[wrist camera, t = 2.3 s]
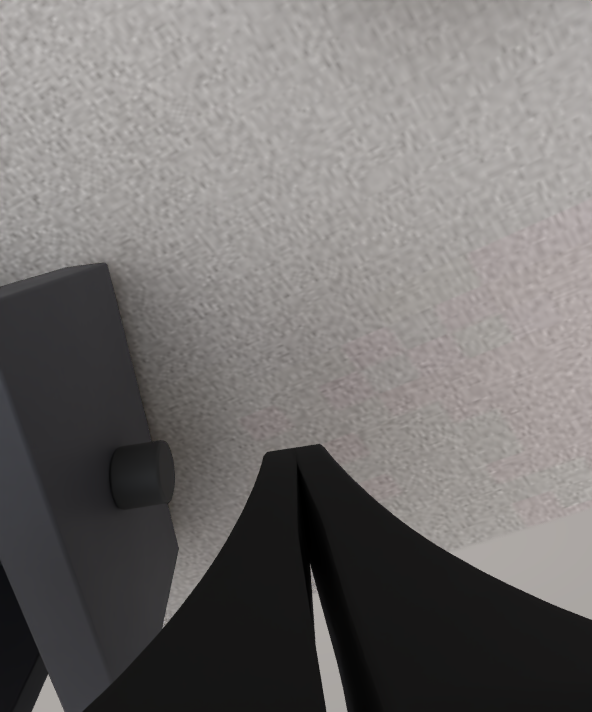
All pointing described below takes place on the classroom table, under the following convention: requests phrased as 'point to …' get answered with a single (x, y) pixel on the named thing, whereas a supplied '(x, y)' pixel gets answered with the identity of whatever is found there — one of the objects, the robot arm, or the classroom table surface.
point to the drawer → (76, 494)
